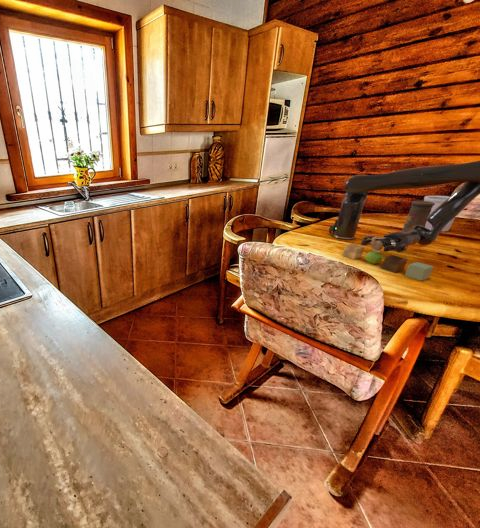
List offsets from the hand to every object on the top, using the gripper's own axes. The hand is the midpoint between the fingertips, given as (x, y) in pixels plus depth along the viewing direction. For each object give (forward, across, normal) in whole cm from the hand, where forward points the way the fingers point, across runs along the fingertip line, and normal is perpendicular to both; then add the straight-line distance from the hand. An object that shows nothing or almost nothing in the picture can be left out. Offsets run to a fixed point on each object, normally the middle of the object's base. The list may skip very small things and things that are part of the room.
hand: (373, 246), depth 117 cm
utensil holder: (-81, -16, +8) cm, 83 cm away
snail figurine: (-2, 0, +8) cm, 8 cm away
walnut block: (-2, +8, +8) cm, 11 cm away
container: (-58, -14, +8) cm, 60 cm away
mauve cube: (-2, -8, +8) cm, 11 cm away
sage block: (-2, +16, +8) cm, 18 cm away
